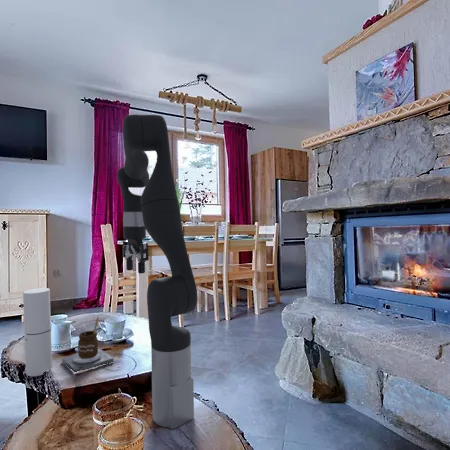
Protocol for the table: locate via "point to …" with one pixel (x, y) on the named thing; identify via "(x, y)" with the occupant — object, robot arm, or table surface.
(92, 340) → the utensil holder
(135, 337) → the table surface
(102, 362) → the flange
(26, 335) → the cylindrical container
